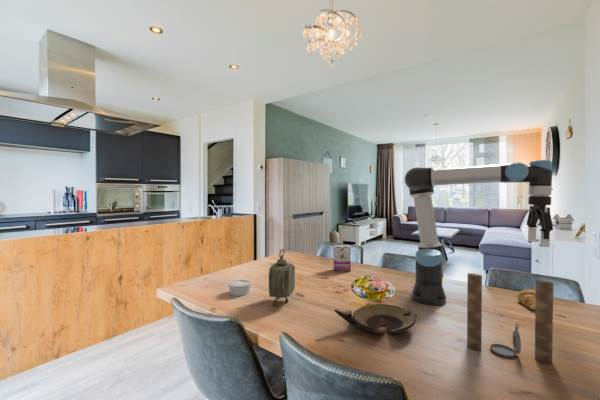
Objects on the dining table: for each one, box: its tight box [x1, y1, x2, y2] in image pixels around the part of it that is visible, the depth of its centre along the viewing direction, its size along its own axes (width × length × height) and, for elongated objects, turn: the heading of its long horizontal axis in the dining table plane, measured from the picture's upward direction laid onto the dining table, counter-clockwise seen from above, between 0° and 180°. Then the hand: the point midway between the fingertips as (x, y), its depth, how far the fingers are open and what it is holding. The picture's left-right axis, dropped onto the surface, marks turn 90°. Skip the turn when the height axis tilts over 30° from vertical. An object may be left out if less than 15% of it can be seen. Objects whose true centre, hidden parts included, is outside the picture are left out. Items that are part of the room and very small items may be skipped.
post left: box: [466, 272, 483, 351], centre depth 91 cm, size 4×4×24 cm
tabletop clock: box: [268, 248, 296, 307], centre depth 130 cm, size 14×9×25 cm, turn 168°
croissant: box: [516, 288, 536, 311], centre depth 127 cm, size 21×10×8 cm, turn 147°
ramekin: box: [228, 279, 252, 297], centre depth 143 cm, size 11×11×5 cm
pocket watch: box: [489, 323, 522, 358], centre depth 87 cm, size 8×8×10 cm
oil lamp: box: [334, 303, 418, 334], centre depth 106 cm, size 22×30×8 cm
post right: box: [534, 279, 554, 365], centre depth 84 cm, size 4×4×24 cm
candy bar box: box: [333, 245, 352, 271], centre depth 185 cm, size 11×5×16 cm, turn 80°
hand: (538, 244), depth 122 cm, fingers open, 13 cm apart
